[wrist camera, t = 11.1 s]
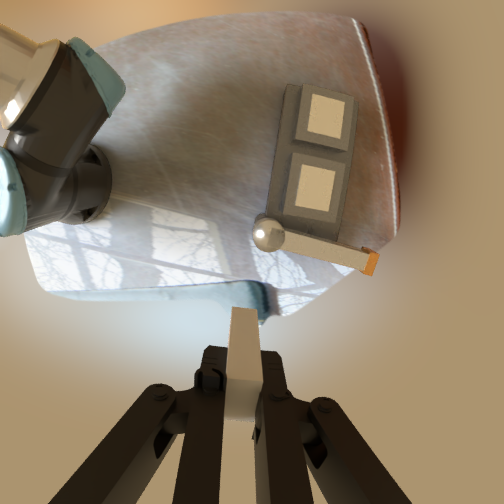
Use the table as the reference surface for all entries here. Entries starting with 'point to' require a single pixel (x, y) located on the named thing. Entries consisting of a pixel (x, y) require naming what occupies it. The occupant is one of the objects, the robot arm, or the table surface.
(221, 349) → the robot arm
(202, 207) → the table surface
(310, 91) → the grey stepped block base
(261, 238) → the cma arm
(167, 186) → the table surface
